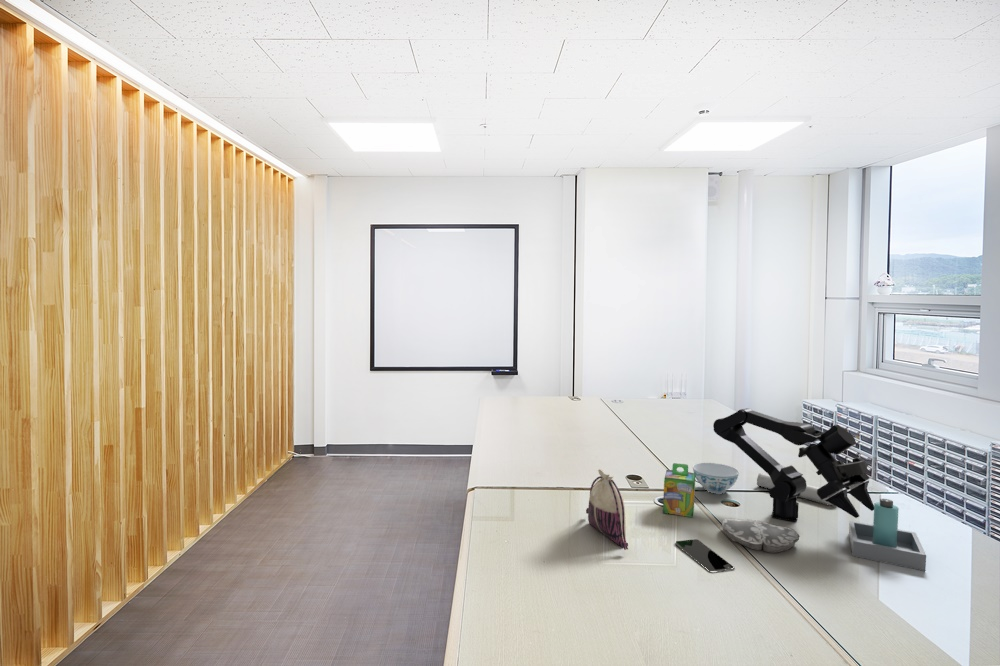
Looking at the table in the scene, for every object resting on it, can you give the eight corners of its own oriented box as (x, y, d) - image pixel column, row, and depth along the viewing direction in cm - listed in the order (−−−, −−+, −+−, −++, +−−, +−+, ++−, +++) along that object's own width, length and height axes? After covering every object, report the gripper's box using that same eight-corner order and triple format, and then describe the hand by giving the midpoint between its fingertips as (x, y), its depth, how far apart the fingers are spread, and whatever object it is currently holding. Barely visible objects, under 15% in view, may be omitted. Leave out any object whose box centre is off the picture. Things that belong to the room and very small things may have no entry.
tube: (842, 493, 173) (764, 473, 192) (837, 491, 170) (758, 471, 189) (839, 509, 172) (761, 487, 191) (834, 508, 169) (755, 486, 188)
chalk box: (662, 513, 164) (663, 467, 164) (665, 503, 173) (666, 459, 172) (693, 518, 161) (695, 470, 160) (694, 507, 169) (696, 462, 169)
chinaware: (698, 480, 195) (699, 460, 195) (742, 489, 187) (743, 467, 186) (686, 492, 183) (687, 470, 183) (732, 502, 174) (733, 479, 174)
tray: (852, 555, 137) (853, 540, 137) (848, 534, 150) (849, 520, 150) (925, 571, 130) (926, 555, 130) (914, 546, 143) (915, 532, 142)
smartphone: (710, 571, 128) (674, 541, 144) (710, 575, 128) (673, 544, 144) (736, 568, 130) (697, 538, 145) (736, 572, 130) (697, 542, 145)
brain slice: (723, 550, 141) (723, 539, 140) (720, 525, 157) (720, 515, 156) (806, 563, 134) (807, 551, 134) (794, 535, 150) (794, 525, 150)
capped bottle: (881, 552, 138) (883, 504, 137) (867, 543, 143) (869, 496, 142) (901, 553, 137) (903, 504, 137) (887, 544, 143) (889, 497, 142)
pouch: (571, 520, 159) (572, 458, 158) (594, 516, 162) (595, 455, 161) (619, 557, 136) (621, 485, 135) (645, 551, 139) (647, 481, 138)
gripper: (831, 453, 142) (875, 507, 133) (863, 443, 152) (906, 493, 143) (800, 473, 149) (839, 525, 140) (833, 463, 159) (872, 511, 150)
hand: (865, 513), depth 143 cm, fingers open, 9 cm apart
